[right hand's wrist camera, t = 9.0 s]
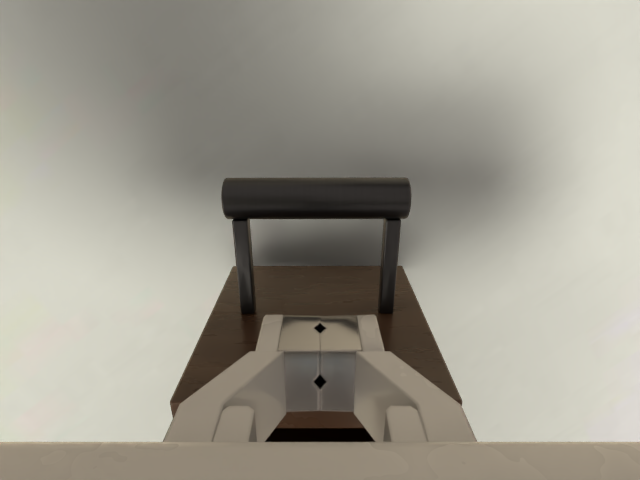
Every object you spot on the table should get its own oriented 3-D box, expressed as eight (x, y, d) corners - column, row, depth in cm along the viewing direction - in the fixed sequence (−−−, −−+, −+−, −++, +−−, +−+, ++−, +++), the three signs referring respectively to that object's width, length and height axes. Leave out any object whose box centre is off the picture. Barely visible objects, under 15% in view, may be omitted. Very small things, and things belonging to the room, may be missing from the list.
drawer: (222, 156, 19) (133, 225, 10) (412, 156, 19) (496, 225, 10) (254, 486, 28) (223, 677, 19) (382, 486, 28) (412, 677, 19)
